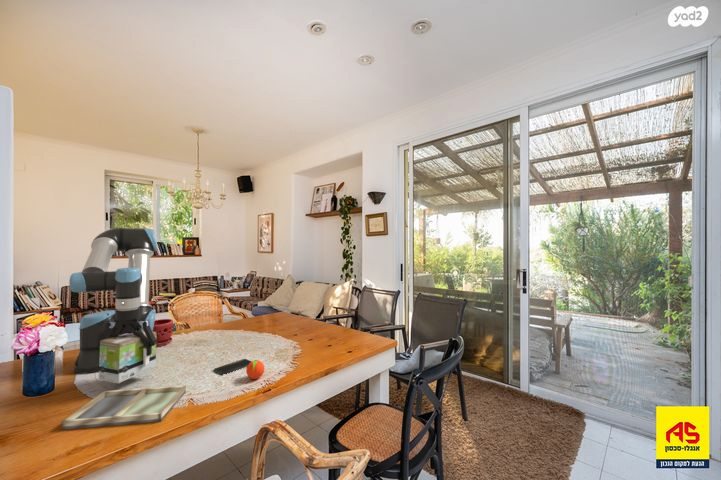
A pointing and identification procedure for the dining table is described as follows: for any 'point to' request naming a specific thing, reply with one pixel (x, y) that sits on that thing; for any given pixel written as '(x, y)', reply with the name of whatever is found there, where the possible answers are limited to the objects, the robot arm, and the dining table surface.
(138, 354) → the tea box
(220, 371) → the phone
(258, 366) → the clementine
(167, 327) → the plant pot
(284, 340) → the dining table surface
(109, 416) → the organiser
